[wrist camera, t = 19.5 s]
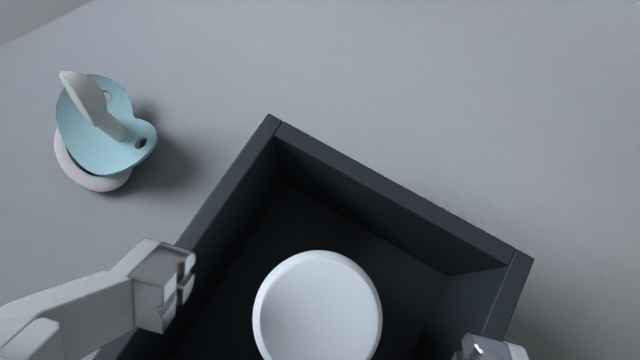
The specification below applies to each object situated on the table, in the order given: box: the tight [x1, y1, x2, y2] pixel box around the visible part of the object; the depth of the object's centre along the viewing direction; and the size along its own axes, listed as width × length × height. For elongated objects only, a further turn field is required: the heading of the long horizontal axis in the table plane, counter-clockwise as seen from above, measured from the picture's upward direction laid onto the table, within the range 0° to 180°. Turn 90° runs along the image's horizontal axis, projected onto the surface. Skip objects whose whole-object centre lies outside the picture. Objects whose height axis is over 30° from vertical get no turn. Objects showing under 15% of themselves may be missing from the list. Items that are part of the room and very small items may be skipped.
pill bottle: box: [252, 250, 383, 360], centre depth 16 cm, size 5×5×9 cm
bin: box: [92, 114, 534, 360], centre depth 17 cm, size 13×13×8 cm
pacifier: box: [54, 71, 158, 192], centre depth 21 cm, size 7×6×6 cm
